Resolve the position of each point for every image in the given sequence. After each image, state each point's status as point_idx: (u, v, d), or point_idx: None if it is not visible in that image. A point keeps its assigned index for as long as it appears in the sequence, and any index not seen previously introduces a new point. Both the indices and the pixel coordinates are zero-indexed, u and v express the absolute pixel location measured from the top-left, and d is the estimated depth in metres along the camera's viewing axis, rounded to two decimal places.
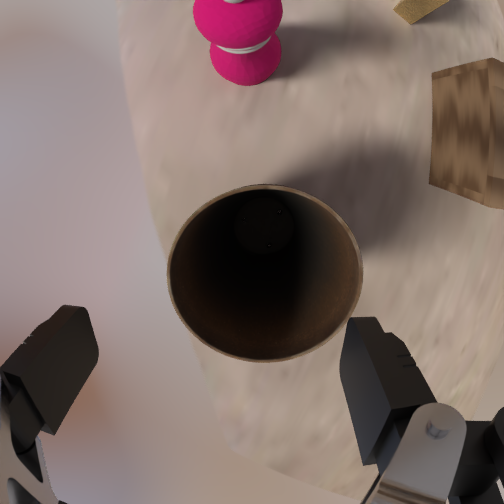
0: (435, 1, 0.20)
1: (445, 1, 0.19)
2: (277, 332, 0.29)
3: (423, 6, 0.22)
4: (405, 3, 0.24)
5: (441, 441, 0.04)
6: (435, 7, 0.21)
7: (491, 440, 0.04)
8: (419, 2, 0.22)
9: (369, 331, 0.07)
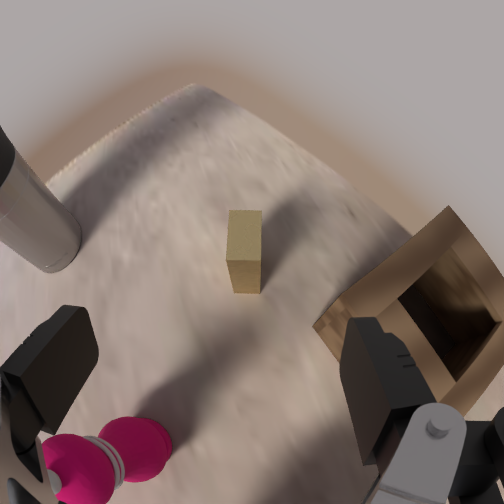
0: (252, 268, 0.29)
1: (259, 262, 0.27)
2: None
3: (250, 277, 0.31)
4: (235, 284, 0.33)
5: (441, 441, 0.04)
6: (259, 271, 0.30)
7: (491, 440, 0.04)
8: (243, 277, 0.31)
9: (369, 331, 0.07)
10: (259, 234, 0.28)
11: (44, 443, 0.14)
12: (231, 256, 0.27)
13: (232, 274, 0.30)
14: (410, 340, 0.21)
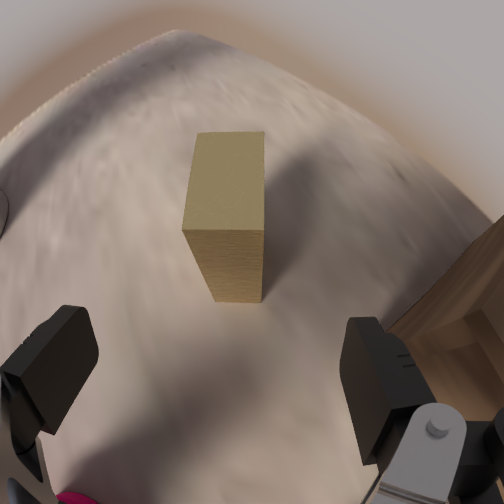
0: (245, 251, 0.13)
1: (259, 235, 0.12)
2: None
3: (241, 272, 0.15)
4: (214, 286, 0.17)
5: (441, 441, 0.04)
6: (259, 260, 0.14)
7: (491, 440, 0.04)
8: (227, 272, 0.15)
9: (369, 331, 0.07)
10: (260, 174, 0.12)
11: None
12: (194, 222, 0.11)
13: (204, 266, 0.15)
14: None
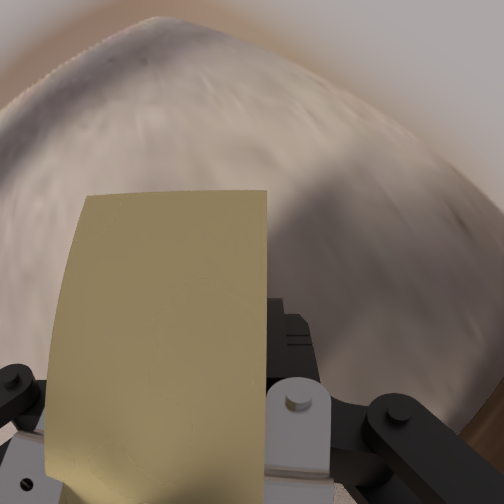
0: None
1: None
2: None
3: None
4: None
5: (293, 413, 0.05)
6: None
7: (370, 438, 0.04)
8: None
9: (268, 310, 0.08)
10: (251, 365, 0.04)
11: None
12: (70, 495, 0.03)
13: None
14: None
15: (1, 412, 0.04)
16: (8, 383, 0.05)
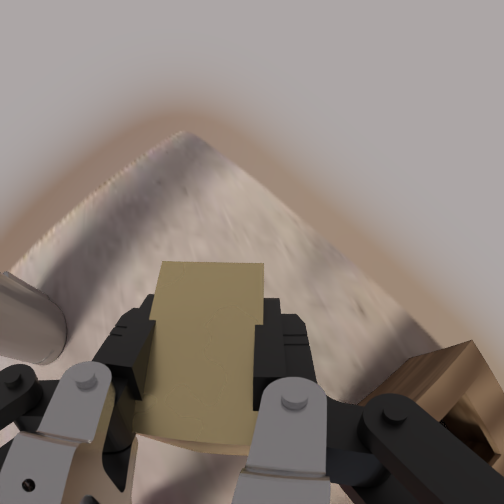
0: (232, 448, 0.07)
1: None
2: None
3: (229, 451, 0.09)
4: (196, 450, 0.11)
5: (289, 413, 0.05)
6: None
7: (366, 438, 0.04)
8: (209, 449, 0.09)
9: (265, 310, 0.08)
10: None
11: None
12: (148, 423, 0.06)
13: (177, 445, 0.09)
14: None
15: (3, 413, 0.04)
16: (10, 383, 0.05)
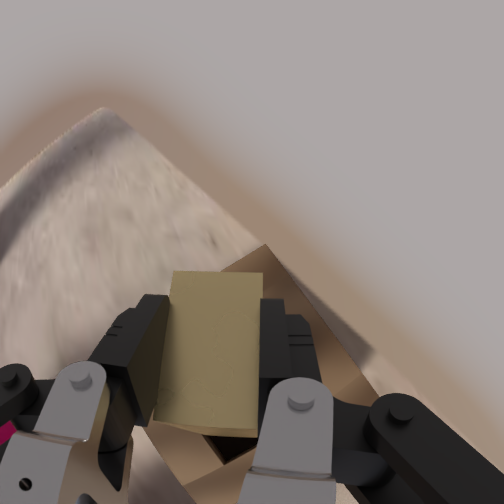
0: (237, 431, 0.09)
1: (255, 429, 0.08)
2: None
3: (233, 433, 0.11)
4: (203, 433, 0.13)
5: (296, 414, 0.05)
6: (254, 432, 0.10)
7: (372, 437, 0.04)
8: (216, 432, 0.11)
9: (270, 310, 0.08)
10: (256, 344, 0.09)
11: None
12: (167, 412, 0.08)
13: (188, 429, 0.10)
14: None
15: (0, 412, 0.04)
16: (7, 383, 0.05)
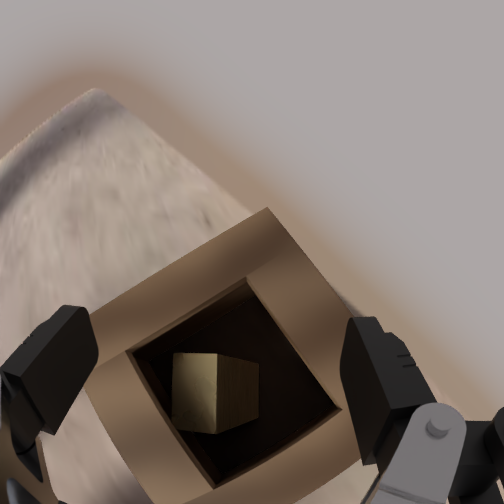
0: None
1: None
2: None
3: None
4: None
5: (441, 441, 0.04)
6: None
7: (491, 440, 0.04)
8: None
9: (369, 331, 0.07)
10: (213, 394, 0.17)
11: None
12: (177, 424, 0.17)
13: None
14: (135, 412, 0.14)
15: None
16: None
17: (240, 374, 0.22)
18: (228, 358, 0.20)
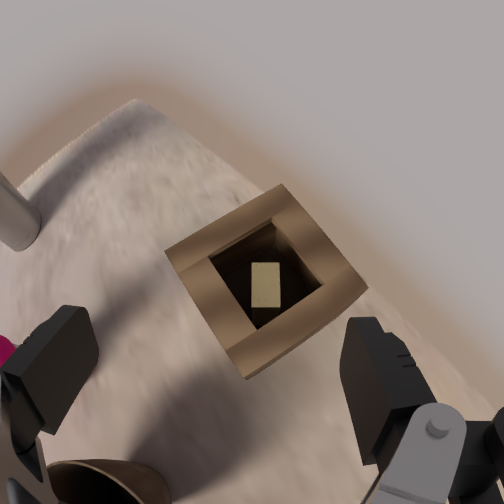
0: (272, 311, 0.34)
1: (278, 308, 0.33)
2: None
3: (269, 316, 0.36)
4: (255, 320, 0.38)
5: (441, 441, 0.04)
6: (277, 313, 0.35)
7: (491, 440, 0.04)
8: (263, 316, 0.36)
9: (369, 331, 0.07)
10: (278, 284, 0.33)
11: None
12: (255, 304, 0.32)
13: (254, 315, 0.36)
14: (213, 288, 0.30)
15: None
16: None
17: None
18: None
